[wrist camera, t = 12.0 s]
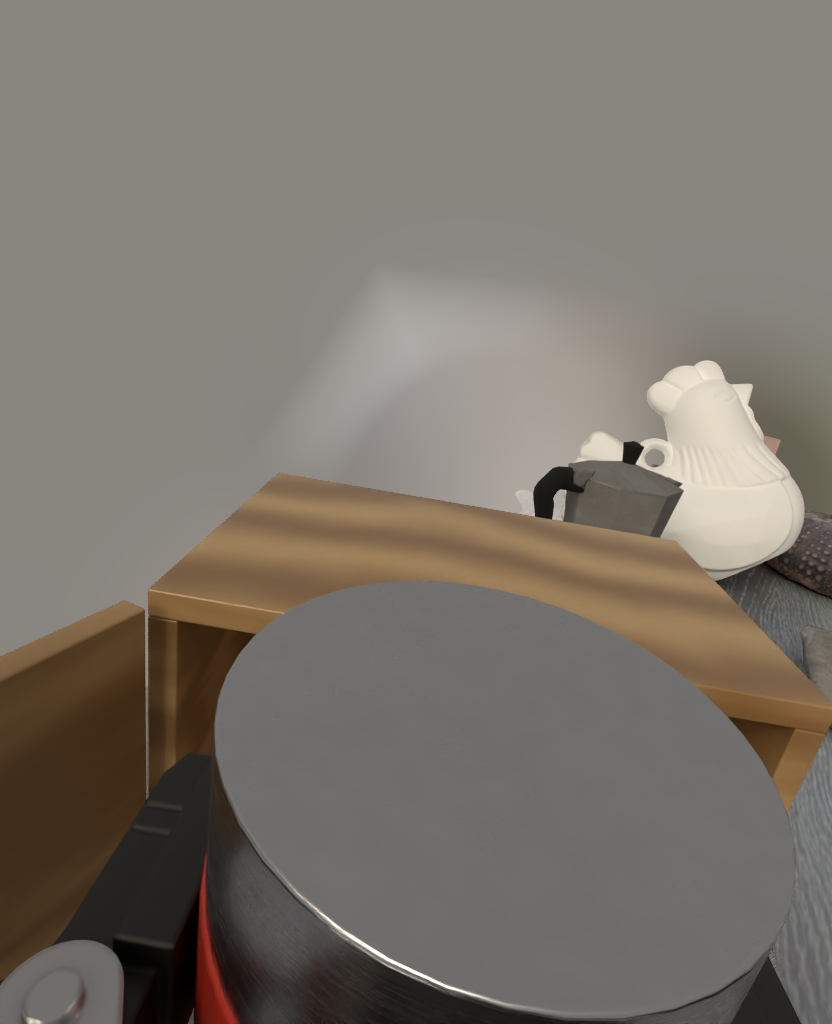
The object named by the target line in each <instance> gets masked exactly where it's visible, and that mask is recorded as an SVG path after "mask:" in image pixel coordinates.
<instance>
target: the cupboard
mask: <svg viewBox="0 0 832 1024" xmlns="http://www.w3.org/2000/svg"><path fill="white" fill-rule="evenodd" d="M392 581H440V582H451V583H461V584H469V585H475V586H481V587H487V588H492V589H497V590H501V591H506V592H510V593H515V594H518V595H522V596H525V597H529V598H532V599H536V600H539V601H542V602H545V603H548V604H551V605H554V606H557V607H559V608H562V609H565V610H567V611H570V612H572V613H575V614H577V615H580V616H582V617H585V618H587V619H589V620H591V621H593V622H595V623H597V624H600V625H602V626H604V627H606V628H608V629H610V630H612V631H614V632H616V633H618V634H619V635H621V636H623V637H625V638H627V639H629V640H630V641H632V642H634V643H636V644H637V645H639V646H640V647H642V648H644V649H645V650H647V651H648V652H650V653H652V654H653V655H655V656H656V657H658V658H659V659H661V660H662V661H663V662H665V663H666V664H668V665H669V666H670V667H672V668H673V669H675V670H676V671H677V672H679V673H680V674H681V675H683V676H684V677H685V678H686V679H687V680H689V681H690V682H691V683H692V684H693V685H695V686H696V687H697V688H698V689H699V690H701V691H702V692H703V693H704V694H705V695H706V696H707V697H708V698H709V699H710V700H711V701H712V702H713V703H714V704H715V705H717V706H718V707H719V708H720V709H721V710H722V711H723V712H724V713H725V714H726V716H727V717H728V718H729V719H730V720H731V721H732V722H733V724H734V725H735V726H736V727H737V728H738V729H739V730H740V732H741V733H742V734H743V735H744V736H745V738H746V739H747V741H748V742H749V743H750V745H751V746H752V748H753V749H754V750H755V752H756V753H757V755H758V756H759V757H760V759H761V760H762V762H763V764H764V766H765V767H766V769H767V771H768V773H769V775H770V776H771V778H772V780H773V782H774V784H775V785H776V787H777V790H778V792H779V795H780V797H781V800H782V802H783V805H784V808H785V810H786V813H787V812H788V810H789V808H790V806H791V804H792V802H793V800H794V798H795V796H796V794H797V792H798V790H799V788H800V786H801V784H802V782H803V780H804V778H805V776H806V774H807V772H808V770H809V768H810V766H811V764H812V762H813V760H814V758H815V756H816V754H817V752H818V750H819V748H820V746H821V744H822V742H823V740H824V738H825V733H827V731H828V729H829V727H830V725H831V723H832V702H831V701H830V700H829V699H828V698H827V697H826V696H825V695H824V694H823V693H822V692H821V691H820V690H819V689H818V688H817V687H816V686H815V685H814V683H813V682H812V681H811V680H810V679H809V678H808V677H807V676H806V675H805V674H804V673H803V672H802V671H801V670H800V669H799V668H798V667H797V666H796V665H795V664H794V663H793V662H792V661H791V660H790V659H789V658H788V657H787V655H786V654H785V653H784V652H783V651H782V650H781V649H780V648H779V647H778V646H777V645H776V644H775V643H774V642H773V641H772V640H771V639H770V638H769V637H768V636H767V635H766V634H765V633H764V632H763V631H762V630H761V629H760V627H759V626H758V625H757V624H756V623H755V622H754V621H753V620H752V619H751V618H750V617H749V616H748V615H747V614H746V613H745V612H744V611H743V610H742V609H741V608H740V607H739V606H738V605H737V604H736V603H735V602H734V601H733V600H732V598H731V597H730V596H729V595H728V594H727V593H726V592H725V591H724V590H723V589H722V588H721V587H720V586H719V585H718V584H717V583H716V582H715V581H714V580H713V579H712V578H711V577H710V576H709V575H708V574H707V573H706V572H705V570H704V569H703V568H702V567H701V566H700V565H699V564H698V563H697V562H696V561H695V560H694V559H693V558H692V557H691V556H690V555H689V554H688V553H687V552H686V551H685V550H684V549H683V548H682V547H681V546H680V545H679V544H678V542H677V541H674V540H668V539H662V538H657V537H651V536H645V535H639V534H633V533H627V532H621V531H616V530H610V529H604V528H598V527H592V526H586V525H580V524H575V523H569V522H563V521H557V520H551V519H545V518H539V517H534V516H528V515H522V514H516V513H510V512H504V511H498V510H492V509H487V508H481V507H475V506H468V505H463V504H457V503H451V502H445V501H440V500H434V499H428V498H422V497H416V496H411V495H404V494H399V493H393V492H387V491H381V490H375V489H369V488H364V487H358V486H352V485H346V484H340V483H334V482H329V481H323V480H317V479H310V478H305V477H299V476H292V475H288V474H282V473H278V474H277V475H276V476H275V477H273V478H272V479H271V480H270V481H269V482H268V483H267V484H266V485H264V486H263V487H262V488H261V489H260V490H259V491H258V492H257V493H256V494H254V495H253V496H252V497H251V498H250V499H249V500H248V501H247V502H245V503H244V504H243V505H242V506H241V507H240V508H239V509H238V510H237V511H236V512H235V513H233V514H232V515H231V516H230V517H229V518H228V519H226V520H225V521H224V522H223V523H222V524H221V525H220V526H219V527H217V528H216V529H215V530H214V531H213V532H212V533H211V534H210V535H209V536H207V537H206V538H205V539H204V540H203V541H202V542H201V543H200V544H198V545H197V546H196V547H195V548H194V549H193V550H192V551H191V552H190V553H188V554H187V555H186V556H185V557H184V558H183V559H182V560H181V561H179V562H178V563H177V564H176V565H175V566H174V567H173V568H172V569H171V570H169V571H168V572H167V573H166V574H165V575H164V576H163V577H161V579H159V580H158V581H157V582H156V583H155V584H154V585H153V586H151V587H150V588H149V590H148V614H149V617H148V738H149V795H150V794H151V792H152V790H153V789H154V787H155V786H156V784H157V782H158V781H159V779H160V778H161V776H162V775H163V773H164V772H166V771H167V770H168V769H169V768H171V767H172V766H173V765H174V764H176V763H177V762H178V761H179V760H181V759H182V758H183V757H185V756H186V755H187V754H188V753H190V752H192V753H198V754H204V755H209V756H212V741H213V725H214V718H215V712H216V706H217V700H218V697H219V694H220V691H221V689H222V686H223V683H224V680H225V678H226V675H227V674H228V672H229V670H230V669H231V667H232V665H233V664H234V662H235V660H236V658H237V657H238V655H239V653H240V652H241V651H242V650H243V649H244V648H245V646H246V645H247V644H248V643H249V642H250V641H251V639H252V638H253V637H254V636H255V635H256V634H257V633H258V632H260V631H261V630H262V629H263V628H264V627H265V626H267V625H268V624H269V623H270V622H271V621H273V620H274V619H276V618H277V617H279V616H281V615H282V614H284V613H285V612H287V611H288V610H290V609H292V608H294V607H296V606H298V605H300V604H302V603H304V602H306V601H309V600H311V599H314V598H316V597H319V596H322V595H325V594H328V593H330V592H334V591H338V590H342V589H346V588H350V587H354V586H360V585H366V584H372V583H381V582H392Z"/></svg>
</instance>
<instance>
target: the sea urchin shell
mask: <svg viewBox="0 0 832 1024" xmlns="http://www.w3.org/2000/svg"><path fill="white" fill-rule="evenodd" d="M766 562H767V563H768V564H769V565H770V566H771V567H772V568H774V569H775V570H776V571H779V572H780V573H782V574H783V575H784V576H785V577H788V578H789V579H791V580H794V581H795V582H799V583H801V584H802V585H804V586H806V587H808V588H809V589H812V590H814V591H815V592H817V593H821V594H823V595H826V596H829V597H832V516H831V515H827V514H824V513H818V512H813V511H805V513H804V522H803V526H802V529H801V532H800V534H799V536H798V538H797V539H796V541H795V543H794V544H793V545H792V547H791V548H790V549H788V550H787V551H785V552H784V553H782V554H780V555H778V556H776V557H774V558H772V559H770V560H767V561H766Z"/></svg>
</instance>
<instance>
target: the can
mask: <svg viewBox="0 0 832 1024" xmlns="http://www.w3.org/2000/svg"><path fill="white" fill-rule="evenodd" d="M795 882H796V881H795V848H794V842H793V838H792V833H791V828H790V824H789V819H788V815H787V813H786V810H785V808H784V805H783V802H782V800H781V797H780V795H779V792H778V790H777V787H776V785H775V784H774V782H773V780H772V778H771V776H770V775H769V773H768V771H767V769H766V767H765V766H764V764H763V762H762V760H761V759H760V757H759V756H758V755H757V753H756V752H755V750H754V749H753V748H752V746H751V745H750V743H749V742H748V741H747V739H746V738H745V736H744V735H743V734H742V733H741V732H740V730H739V729H738V728H737V727H736V726H735V725H734V724H733V722H732V721H731V720H730V719H729V718H728V717H727V716H726V714H725V713H724V712H723V711H722V710H721V709H720V708H719V707H718V706H717V705H715V704H714V703H713V702H712V701H711V700H710V699H709V698H708V697H707V696H706V695H705V694H704V693H703V692H702V691H701V690H699V689H698V688H697V687H696V686H695V685H693V684H692V683H691V682H690V681H689V680H687V679H686V678H685V677H684V676H683V675H681V674H680V673H679V672H677V671H676V670H675V669H673V668H672V667H670V666H669V665H668V664H666V663H665V662H663V661H662V660H661V659H659V658H658V657H656V656H655V655H653V654H652V653H650V652H648V651H647V650H645V649H644V648H642V647H640V646H639V645H637V644H636V643H634V642H632V641H630V640H629V639H627V638H625V637H623V636H621V635H619V634H618V633H616V632H614V631H612V630H610V629H608V628H606V627H604V626H602V625H600V624H597V623H595V622H593V621H591V620H589V619H587V618H585V617H582V616H580V615H577V614H575V613H572V612H570V611H567V610H565V609H562V608H559V607H557V606H554V605H551V604H548V603H545V602H542V601H539V600H536V599H532V598H529V597H525V596H522V595H518V594H515V593H510V592H506V591H501V590H497V589H492V588H487V587H481V586H475V585H469V584H461V583H451V582H440V581H392V582H381V583H372V584H366V585H360V586H354V587H350V588H346V589H342V590H338V591H334V592H330V593H328V594H325V595H322V596H319V597H316V598H314V599H311V600H309V601H306V602H304V603H302V604H300V605H298V606H296V607H294V608H292V609H290V610H288V611H287V612H285V613H284V614H282V615H281V616H279V617H277V618H276V619H274V620H273V621H271V622H270V623H269V624H268V625H267V626H265V627H264V628H263V629H262V630H261V631H260V632H258V633H257V634H256V635H255V636H254V637H253V638H252V639H251V641H250V642H249V643H248V644H247V645H246V646H245V648H244V649H243V650H242V651H241V652H240V653H239V655H238V657H237V658H236V660H235V662H234V664H233V665H232V667H231V669H230V670H229V672H228V674H227V675H226V678H225V680H224V683H223V686H222V689H221V691H220V694H219V697H218V700H217V706H216V712H215V718H214V725H213V741H212V760H211V779H210V799H209V818H208V837H207V851H206V854H205V858H204V865H203V872H202V879H201V887H200V899H199V920H198V941H197V962H196V983H195V1004H194V1024H731V1023H732V1021H733V1019H734V1017H735V1015H736V1014H737V1012H738V1010H739V1008H740V1006H741V1004H742V1003H743V1001H744V999H745V997H746V995H747V993H748V992H749V990H750V988H751V986H752V984H753V982H754V981H755V979H756V977H757V975H758V973H759V971H760V970H761V968H762V966H763V964H764V962H765V961H766V959H767V957H768V955H769V953H770V951H771V950H772V948H773V946H774V944H775V942H776V940H777V938H778V936H779V934H780V932H781V929H782V927H783V925H784V923H785V921H786V919H787V917H788V915H789V912H790V907H791V902H792V897H793V892H794V887H795Z"/></svg>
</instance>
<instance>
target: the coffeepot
mask: <svg viewBox="0 0 832 1024" xmlns="http://www.w3.org/2000/svg"><path fill="white" fill-rule="evenodd" d="M643 449H644V446H642V445H640V444H639V443H637V442H634V441H632V442H624V445H623V458H622V461H597V460H587V461H581V462H576V463H570V464H569V467H555V468H553V469H552V470H550V471H549V472H548V473H547V474H546V475H545V476H544V477H543V478H542V479H541V480H540V481H539V482H538V483H537V485H536V486H535V488H534V493H533V496H534V508H535V517H539V518H545V519H551V520H552V516H553V508H554V501H553V497H554V495H555V494H556V492H557V491H558V490H560V489H563V490H567V491H566V501H565V511H564V521H563V522H569V523H575V524H580V525H586V526H592V527H598V528H604V529H610V530H616V531H621V532H627V533H633V534H639V535H645V536H651V537H657V538H660V536H661V535H662V533H663V531H664V529H665V527H666V525H667V523H668V521H669V519H670V517H671V515H672V513H673V511H674V509H675V507H676V505H677V503H678V501H679V500H680V498H681V496H682V494H683V492H684V490H682V489H681V488H679V487H680V486H681V485H682V483H681V482H678V481H676V480H673V479H671V478H669V477H665V476H663V475H661V474H658V473H655V472H653V471H650V470H647V469H645V468H643V467H641V466H638V465H636V462H637V460H638V459H639V457H640V455H641V453H642V451H643Z"/></svg>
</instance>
